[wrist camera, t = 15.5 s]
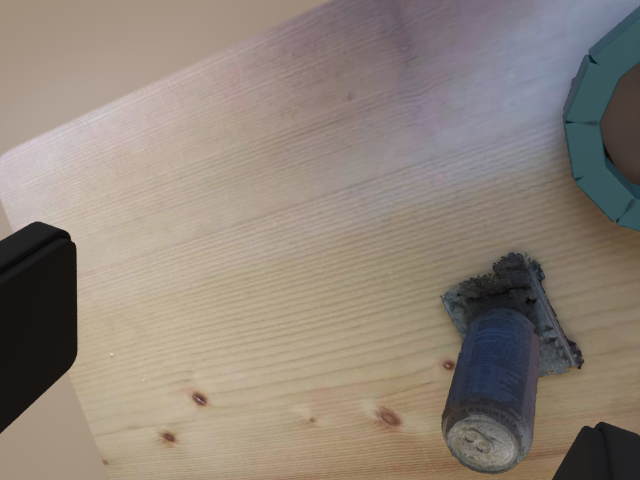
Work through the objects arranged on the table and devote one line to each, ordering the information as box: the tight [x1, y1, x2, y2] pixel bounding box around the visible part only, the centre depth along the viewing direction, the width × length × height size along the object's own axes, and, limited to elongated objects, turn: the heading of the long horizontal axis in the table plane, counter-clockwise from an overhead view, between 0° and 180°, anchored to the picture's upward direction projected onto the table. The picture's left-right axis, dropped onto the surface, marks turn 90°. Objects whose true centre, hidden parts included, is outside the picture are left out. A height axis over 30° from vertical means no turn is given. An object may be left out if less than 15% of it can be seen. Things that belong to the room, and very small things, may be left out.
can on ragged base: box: [441, 252, 584, 474], centre depth 34 cm, size 9×8×12 cm
